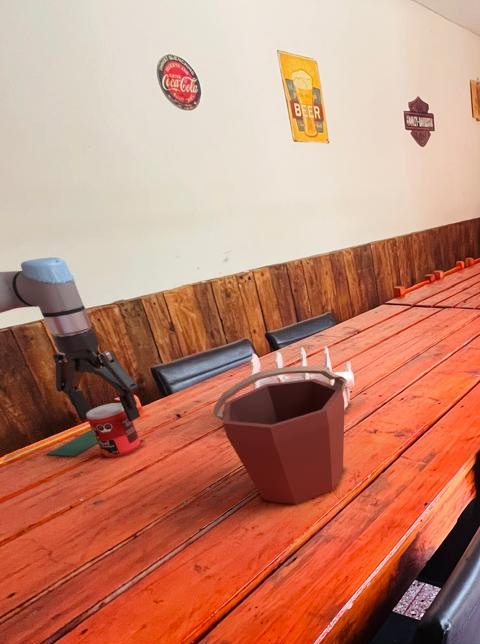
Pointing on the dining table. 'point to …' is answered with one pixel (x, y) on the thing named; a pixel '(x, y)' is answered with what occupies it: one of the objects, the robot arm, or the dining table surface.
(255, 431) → the bucket
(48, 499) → the dining table surface
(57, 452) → the edge mat
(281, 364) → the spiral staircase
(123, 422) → the canned food
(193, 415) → the dining table surface
